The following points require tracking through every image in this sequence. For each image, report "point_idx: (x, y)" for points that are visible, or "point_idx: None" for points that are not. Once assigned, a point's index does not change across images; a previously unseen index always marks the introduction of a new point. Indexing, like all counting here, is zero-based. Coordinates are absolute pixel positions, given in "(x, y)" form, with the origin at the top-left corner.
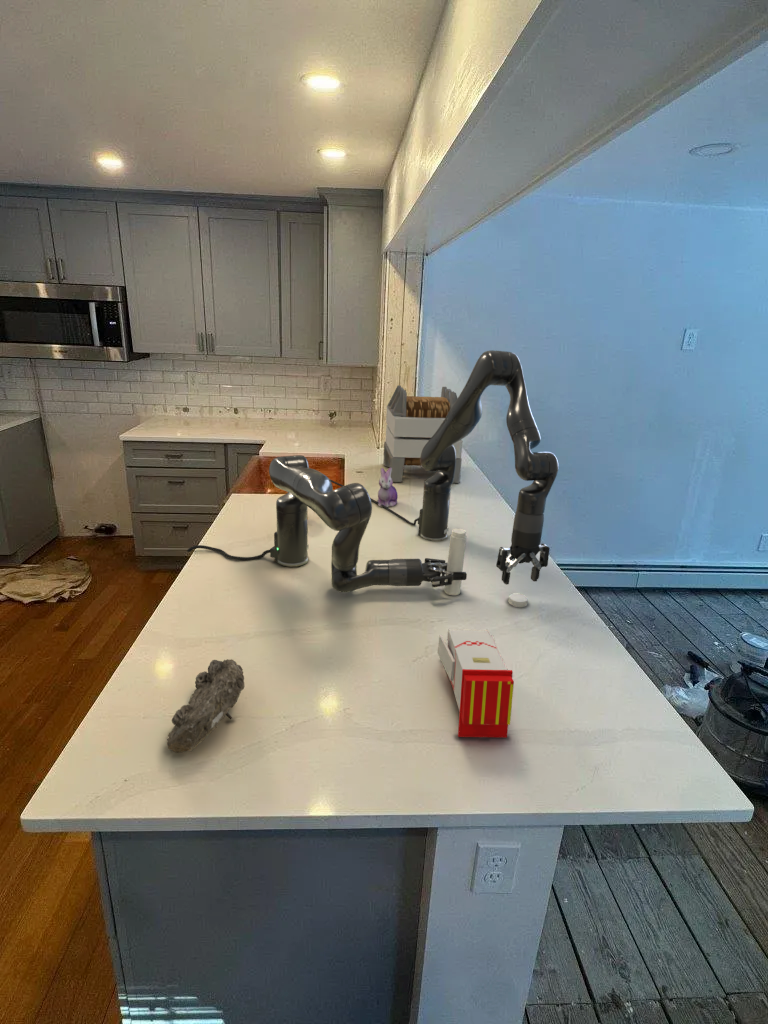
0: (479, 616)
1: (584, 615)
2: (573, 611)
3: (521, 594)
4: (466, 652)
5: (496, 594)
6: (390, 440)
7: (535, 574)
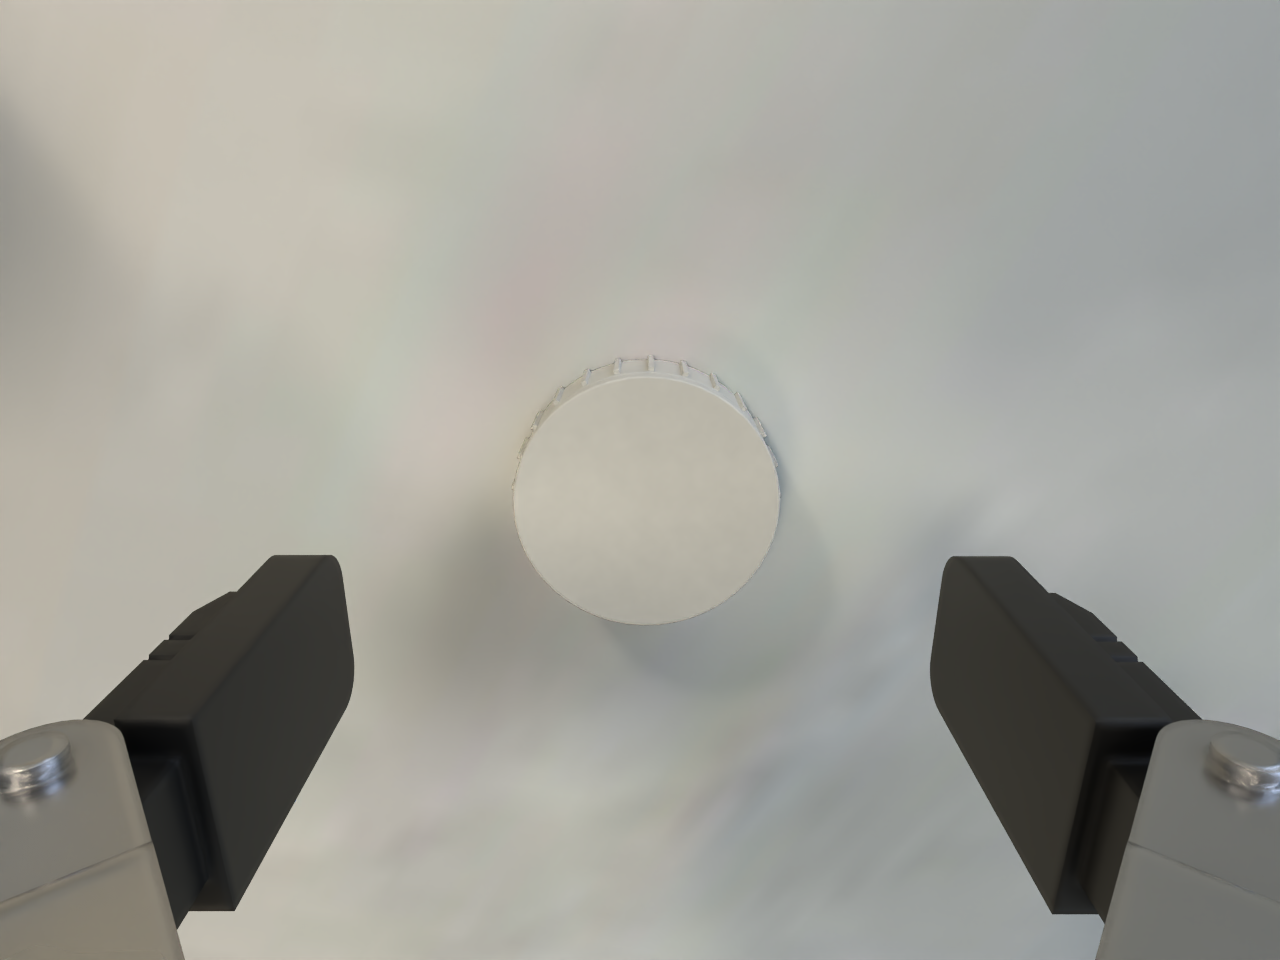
0: (39, 665)
1: None
2: None
3: (744, 434)
4: None
5: (455, 185)
6: None
7: (996, 796)
